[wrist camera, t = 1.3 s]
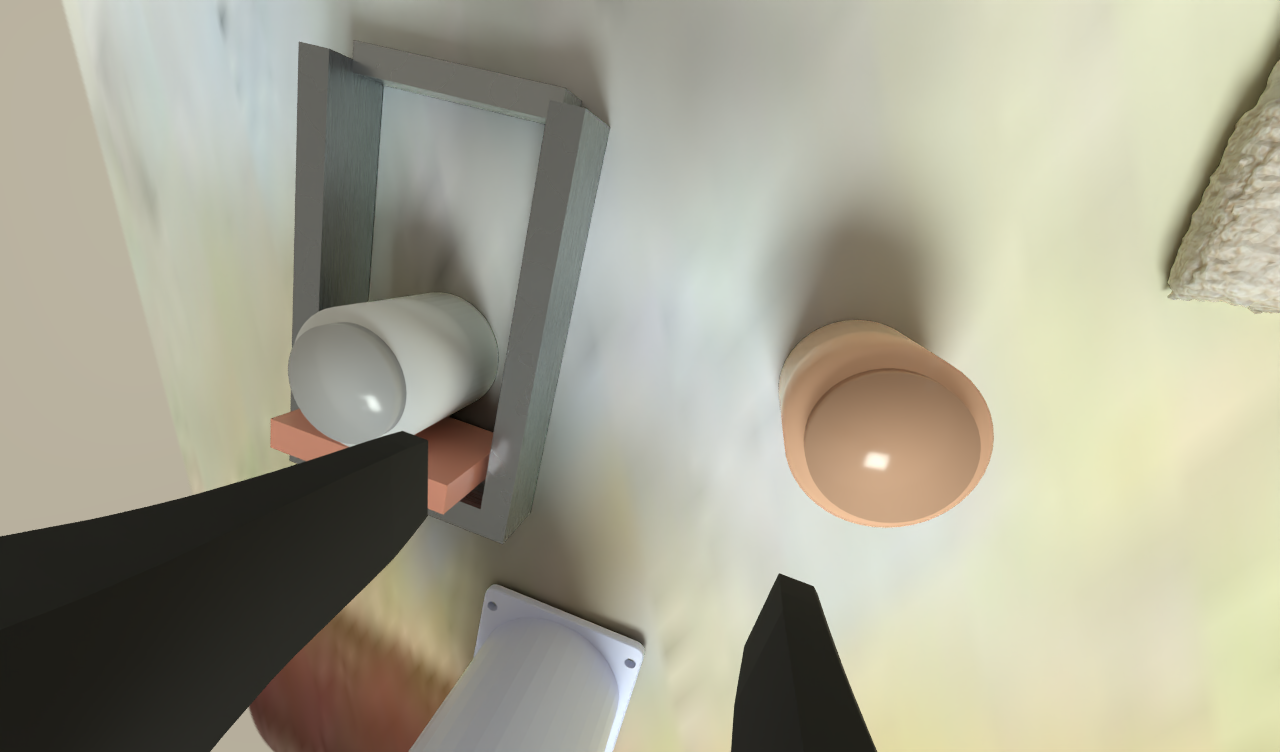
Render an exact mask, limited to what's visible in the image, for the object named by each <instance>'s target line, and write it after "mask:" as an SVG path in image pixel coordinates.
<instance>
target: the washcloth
mask: <svg viewBox="0 0 1280 752" xmlns="http://www.w3.org/2000/svg"><path fill="white" fill-rule="evenodd" d="M1234 128H1235V131H1234V132H1233V134H1232V135H1231V137H1230V138H1229V140H1228V146H1227V147H1226V148H1225V149H1224V150H1225V151H1224V154H1223V157H1222V159H1221V162H1220V165H1219V166H1218V168H1217V169H1216V171H1215V172H1214V173H1213V174H1212V175H1211V176H1210V184H1209V186H1208V187H1207V188H1206V190H1205V191H1204V194H1203V196H1202V201H1201V203H1200V205H1199V207H1198V208H1197V210H1196V211H1195V212H1194V213H1193V214H1192V220H1191V225H1190V227H1189V230H1188V231H1187V233H1186V234H1185V236H1184V237H1183V238H1182V243H1181V245H1180V247H1179V250H1178V254H1177V256H1176V259H1175V263H1174V264H1173V266H1172V268H1171V270H1170V272H1171V273H1170V277H1169V280H1168V282H1167V283H1168V284H1169V285H1170V288H1171V289H1172V293H1171V294H1170V295H1168V298H1170V299H1173V300H1174V299H1179V300H1186V301H1190V300H1198V301H1211V302H1217V301H1223V302H1226V303H1229V304H1232V305H1235V306H1237V305H1241V306H1243V307H1248V306H1249V307H1248V309H1250V310H1251V311H1252V312H1253V313H1255V314H1257V313H1262V312H1269V313H1280V60H1279V61H1278V62H1277V63H1276V64H1275V66H1274V68H1273V69H1272V71H1271V73H1270V75H1269V77H1268V81H1267V86H1266V89H1265V90H1264V92H1263V93H1262V95H1261V96H1260V97H1259V100H1258V103H1257V105H1256V106H1255V107H1254V108H1253V109H1252V110H1249V111H1247V112H1245V114H1244V115H1243V116H1242V117H1241V118H1240V119H1239V121H1238V122H1237V123H1236V125H1235V126H1234Z"/></svg>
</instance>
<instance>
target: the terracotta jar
mask: <svg viewBox="0 0 1280 752" xmlns="http://www.w3.org/2000/svg"><path fill="white" fill-rule="evenodd" d="M779 401H780V410H781V419H782V428H783V436H784V445H785V452H786V458H787V461H788V464H789V468H790V470H791V472H792V474H793V476H794V478H795V480H796V481H797V483H798V484H799V486H800V488H801V489H802V490H803V491H804V492H805V493H806V495H807V496H808V497H809V498H810V499H812V500H813V501H814V502H815V503H816V504H817V505H819V506H820V507H821V508H823V509H824V510H826V511H827V512H829V513H831V514H833V515H835V516H837V517H839V518H841V519H844V520H846V521H849V522H853V523H856V524H860V525H865V526H871V527H885V528H887V527H902V526H908V525H913V524H917V523H921V522H925V521H927V520H930V519H932V518H935V517H937V516H939V515H941V514H943V513H945V512H947V511H948V510H950V509H951V508H953V507H954V506H956V505H957V504H959V503H960V502H961V501H962V500H963V499H964V498H965V497H966V496H968V495H969V494H970V492H971V491H972V490H973V489H974V488H975V487H976V485H977V484H978V483H979V481H980V479H981V478H982V476H983V475H984V473H985V470H986V468H987V466H988V464H989V461H990V457H991V454H992V449H993V440H994V435H993V423H992V419H991V414H990V412H989V409H988V406H987V404H986V402H985V400H984V398H983V396H982V395H981V393H980V391H979V390H978V389H977V388H976V386H975V385H974V384H973V383H972V381H971V380H969V379H968V378H967V377H966V376H965V375H964V374H963V373H962V372H961V371H959V370H958V369H956V368H955V367H953V366H952V365H950V364H949V363H947V362H946V361H944V360H943V359H941V358H939V357H938V356H936V355H935V354H933V353H932V352H930V351H928V350H927V349H925V348H924V347H922V346H920V345H919V344H917V343H916V342H914V341H913V340H911V339H909V338H908V337H906V336H905V335H903V334H902V333H900V332H898V331H897V330H895V329H893V328H891V327H889V326H887V325H884V324H881V323H878V322H873V321H868V320H846V321H839V322H835V323H832V324H828V325H826V326H824V327H821V328H819V329H817V330H815V331H814V332H812V333H810V334H809V335H808V336H806V337H805V338H804V339H802V340H801V341H800V342H799V343H798V344H797V345H796V346H795V348H794V349H793V350H792V351H791V352H790V354H789V356H788V357H787V359H786V361H785V363H784V365H783V368H782V371H781V374H780V379H779Z"/></svg>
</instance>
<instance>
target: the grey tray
mask: <svg viewBox="0 0 1280 752" xmlns="http://www.w3.org/2000/svg"><path fill="white" fill-rule="evenodd" d="M383 85H384V86H388V87H392V88H397V89H401V90H405V91H409V92H413V93H417V94H422V95H426V96H430V97H434V98H438V99H442V100H447V101H451V102H455V103H459V104H463V105H467V106H471V107H476V108H480V109H484V110H488V111H492V112H496V113H501V114H505V115H509V116H513V117H517V118H521V119H526V120H530V121H534V122H538V123H542V124H545V130H544V136H543V142H542V147H541V153H540V159H539V165H538V171H537V177H536V183H535V189H534V195H533V201H532V207H531V213H530V219H529V225H528V231H527V237H526V243H525V249H524V254H523V260H522V266H521V272H520V278H519V284H518V290H517V296H516V302H515V308H514V314H513V320H512V326H511V332H510V338H509V344H508V350H507V356H506V361H505V367H504V373H503V379H502V385H501V391H500V397H499V403H498V409H497V415H496V421H495V427H494V433H493V439H492V445H491V451H490V457H489V463H488V468H487V474H486V479H485V480H484V481H482V482H481V483H480V484H479V485H478V486H476V487H475V488H474V489H473V490H472V491H471V492H469V493H468V494H467V495H466V496H465V497H463V498H462V499H461V500H460V501H459V502H458V503H456V504H455V505H454V506H453V507H452V508H451V509H449V510H448V511H447V512H446V513H445V514H440V513H438V512H435V511H433V510H430V509H428V515H430V516H432V517H435V518H437V519H440V520H442V521H445V522H447V523H450V524H452V525H455V526H458V527H460V528H463V529H465V530H468V531H470V532H473V533H475V534H478V535H481V536H483V537H486V538H488V539H491V540H493V541H496V542H498V543H501V544H504V542H505V541H506V540H507V539H508V538H509V537H510V535H511V534H512V533H513V532H514V531H515V530H516V528H517V527H518V526H519V525H520V524H521V523H522V522H523V520H524V519H525V518H526V517H527V516H528V515H529V513H530V512H531V507H532V502H533V497H534V492H535V488H536V483H537V478H538V473H539V468H540V463H541V459H542V454H543V449H544V444H545V439H546V434H547V429H548V425H549V420H550V415H551V410H552V405H553V400H554V396H555V391H556V386H557V381H558V376H559V371H560V367H561V362H562V357H563V352H564V347H565V342H566V337H567V333H568V328H569V323H570V318H571V313H572V308H573V304H574V299H575V294H576V289H577V284H578V279H579V274H580V270H581V265H582V260H583V255H584V250H585V245H586V241H587V236H588V231H589V226H590V221H591V216H592V212H593V207H594V202H595V197H596V192H597V187H598V182H599V178H600V173H601V168H602V163H603V158H604V153H605V149H606V144H607V139H608V134H609V129H610V127H609V126H608V125H607V124H605V123H604V122H603V121H602V120H600V119H599V118H598V117H596V116H595V115H594V114H593V113H591V112H590V111H589V110H587V109H586V108H583V107H581V103H582V101H581V100H580V99H579V98H577V97H576V96H575V95H574V94H572V93H571V92H570V91H569V90H567V89H566V88H563V87H559V86H554V85H550V84H546V83H541V82H537V81H532V80H528V79H523V78H519V77H515V76H510V75H506V74H501V73H497V72H493V71H488V70H484V69H479V68H475V67H470V66H466V65H462V64H457V63H453V62H448V61H444V60H440V59H435V58H431V57H426V56H422V55H417V54H413V53H409V52H404V51H400V50H395V49H391V48H387V47H382V46H378V45H373V44H369V43H364V42H360V41H356V40H354V47H353V59H351V58H348V57H346V56H344V55H342V54H340V53H337V52H335V51H333V50H331V49H328V48H324V47H319V46H315V45H311V44H307V43H302V42H299V58H298V103H297V148H296V193H295V238H294V282H293V327H292V348H293V346H294V343H295V340H296V337H297V334H298V333H299V331H300V329H301V327H302V326H303V325H304V323H305V322H306V321H307V320H308V319H309V318H310V317H311V316H313V315H314V314H316V313H317V312H319V311H321V310H324V309H327V308H331V307H337V306H343V305H350V304H357V303H364V302H368V291H369V277H370V263H371V249H372V235H373V221H374V207H375V193H376V179H377V165H378V151H379V137H380V123H381V109H382V95H383ZM297 409H300V408H299V407H298V405H297V403H296V401H295V399H294V396H293V393H292V391H291V411H294V410H297ZM290 461H292V462H294V463H297V464H299V463H302V462H305V460H302V459H299V458H297V457H294V456H292V455H290Z"/></svg>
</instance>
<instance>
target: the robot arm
mask: <svg viewBox="0 0 1280 752" xmlns="http://www.w3.org/2000/svg"><path fill="white" fill-rule="evenodd" d="M427 516H428V440H426V439H423V438H421V437H418V436H415V435H413V434H410V433H407V432H405V431H400V432H396V433H393V434H389V435H386V436H382V437H379V438H376V439H373V440H370V441H367V442H364V443H360V444H357V445H354V446H351V447H348V448H345V449H342V450H339V451H336V452H333V453H330V454H327V455H324V456H321V457H318V458H315V459H312V460H309V461H305V462H302V463H299V464H296V465H293V466H290V467H287V468H284V469H281V470H278V471H274V472H271V473H268V474H264V475H261V476H258V477H254V478H251V479H247V480H244V481H240V482H237V483H234V484H230V485H227V486H223V487H220V488H217V489H213V490H210V491H206V492H203V493H199V494H196V495H192V496H188V497H185V498H181V499H177V500H173V501H169V502H165V503H161V504H157V505H153V506H149V507H144V508H140V509H135V510H131V511H127V512H123V513H118V514H114V515H109V516H105V517H100V518H95V519H91V520H86V521H80V522H75V523H70V524H64V525H59V526H54V527H48V528H44V529H38V530H32V531H28V532H22V533H17V534H11V535H6V536H1V537H0V752H210V751H211V750H212V749H213V747H214V746H215V745H216V744H217V743H218V741H219V740H220V739H221V738H222V737H223V735H224V734H225V733H226V732H227V731H228V730H229V728H230V727H231V726H232V725H233V724H234V723H235V722H236V720H237V719H238V718H239V717H240V716H241V715H242V713H243V712H244V711H245V710H246V709H247V708H248V707H249V705H250V704H251V703H252V702H253V701H254V700H255V699H256V697H257V696H258V695H259V694H260V693H261V692H262V691H263V689H264V688H265V687H266V686H267V685H268V684H269V682H270V681H271V680H272V679H273V678H274V677H275V676H276V675H277V674H278V673H279V672H280V671H281V670H282V669H283V668H284V666H285V665H286V664H287V663H288V662H289V661H290V660H291V659H292V658H293V657H294V656H295V655H296V654H297V653H298V652H299V651H300V650H301V649H302V648H303V647H304V646H305V645H306V644H307V643H308V642H309V641H310V640H311V639H312V638H313V637H314V636H315V635H316V634H317V633H318V632H320V631H321V630H322V629H323V628H324V627H325V626H326V625H327V624H328V623H329V622H330V621H331V620H332V619H333V618H334V617H335V616H336V615H337V614H338V613H339V612H340V611H341V610H342V609H343V608H344V607H345V606H346V605H347V604H348V603H349V602H350V601H351V600H352V599H353V598H354V597H355V596H356V595H357V594H358V593H360V592H361V591H362V590H363V589H364V588H365V587H366V586H367V585H368V584H369V583H370V582H371V581H372V580H373V579H374V578H375V577H376V576H377V575H378V574H379V573H380V572H381V571H382V570H383V569H384V568H385V567H386V566H387V565H388V564H389V563H390V562H391V561H392V560H393V559H394V557H395V556H396V555H397V554H398V553H399V551H400V550H401V549H402V548H403V547H404V545H405V544H406V543H407V542H408V541H409V539H410V538H411V537H412V535H413V534H414V533H415V532H416V530H417V529H418V528H419V526H420V525H421V524H422V523H423V521H424V520H425V519H426V517H427ZM493 602H494V603H495V604H496V605H495V604H494V603H493ZM644 655H645V649H644V646H643V645H642V644H641V643H639V642H638V641H635V640H633V639H630V638H628V637H626V636H623V635H621V634H618V633H616V632H613V631H611V630H608V629H606V628H603V627H601V626H599V625H596V624H594V623H591V622H589V621H586V620H584V619H581V618H579V617H576V616H574V615H572V614H569V613H567V612H564V611H562V610H559V609H557V608H554V607H552V606H549V605H547V604H545V603H542V602H540V601H537V600H535V599H532V598H530V597H527V596H525V595H522V594H520V593H518V592H515V591H513V590H510V589H508V588H505V587H503V586H500V585H497V584H494V585H491V586H490V587H489V588H488V589H487V591H486V593H485V597H484V602H483V608H482V613H481V619H480V624H479V630H478V635H477V640H476V646H475V651H474V657H473V660H472V661H471V663H470V664H469V665H468V667H467V668H466V670H465V671H464V673H463V674H462V676H461V677H460V678H459V680H458V681H457V683H456V684H455V686H454V687H453V688H452V690H451V691H450V693H449V694H448V696H447V697H446V699H445V700H444V701H443V703H442V704H441V706H440V707H439V709H438V710H437V711H436V713H435V714H434V716H433V717H432V719H431V720H430V722H429V723H428V724H427V726H426V727H425V729H424V730H423V732H422V733H421V734H420V736H419V737H418V739H417V740H416V742H415V743H414V745H413V746H412V747H411V749H410V750H409V752H613V749H614V746H615V743H616V740H617V737H618V734H619V731H620V728H621V725H622V722H623V719H624V716H625V713H626V710H627V707H628V704H629V701H630V698H631V695H632V692H633V689H634V686H635V682H636V679H637V676H638V673H639V670H640V667H641V664H642V661H643V658H644ZM629 659H632V660H633V661H630V660H629ZM731 752H877V750H876V748H875V745H874V743H873V741H872V738H871V736H870V734H869V731H868V729H867V726H866V724H865V721H864V719H863V716H862V714H861V711H860V709H859V707H858V704H857V702H856V699H855V697H854V694H853V692H852V689H851V687H850V684H849V682H848V679H847V676H846V674H845V671H844V668H843V666H842V663H841V660H840V658H839V655H838V652H837V649H836V647H835V644H834V641H833V638H832V636H831V633H830V630H829V627H828V624H827V621H826V618H825V615H824V612H823V609H822V606H821V603H820V600H819V597H818V594H817V592H816V590H815V588H814V586H811V585H809V584H806V583H803V582H801V581H798V580H795V579H793V578H790V577H787V576H785V575H782V574H780V573H779V574H778V577H777V579H776V581H775V583H774V585H773V587H772V589H771V591H770V593H769V595H768V598H767V600H766V602H765V604H764V606H763V608H762V610H761V612H760V614H759V616H758V619H757V621H756V623H755V625H754V627H753V629H752V631H751V633H750V635H749V637H748V640H747V642H746V644H745V646H744V652H743V657H742V663H741V669H740V674H739V680H738V686H737V692H736V699H735V705H734V717H733V732H732V746H731Z"/></svg>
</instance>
